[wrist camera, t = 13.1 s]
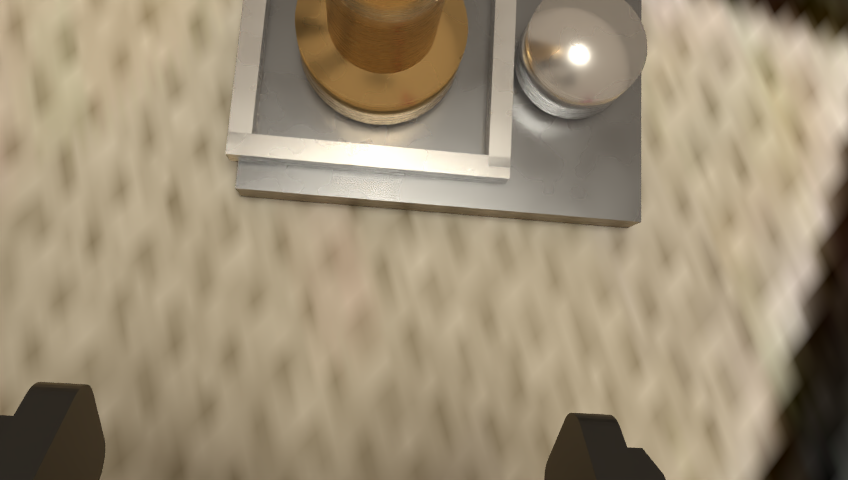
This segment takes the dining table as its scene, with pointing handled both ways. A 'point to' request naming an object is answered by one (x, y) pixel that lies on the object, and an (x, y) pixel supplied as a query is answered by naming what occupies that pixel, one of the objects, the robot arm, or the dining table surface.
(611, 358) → the dining table surface
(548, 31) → the carrier
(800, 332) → the dining table surface
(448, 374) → the dining table surface
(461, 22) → the brass knob
